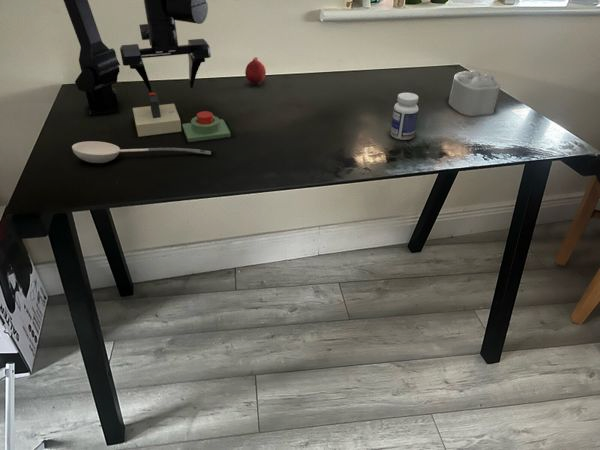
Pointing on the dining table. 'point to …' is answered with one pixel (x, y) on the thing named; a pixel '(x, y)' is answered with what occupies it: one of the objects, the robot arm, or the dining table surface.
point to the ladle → (115, 151)
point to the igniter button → (205, 117)
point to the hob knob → (154, 105)
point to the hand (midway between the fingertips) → (171, 89)
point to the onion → (255, 71)
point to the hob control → (157, 120)
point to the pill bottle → (404, 116)
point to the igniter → (205, 130)
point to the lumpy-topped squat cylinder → (474, 93)
